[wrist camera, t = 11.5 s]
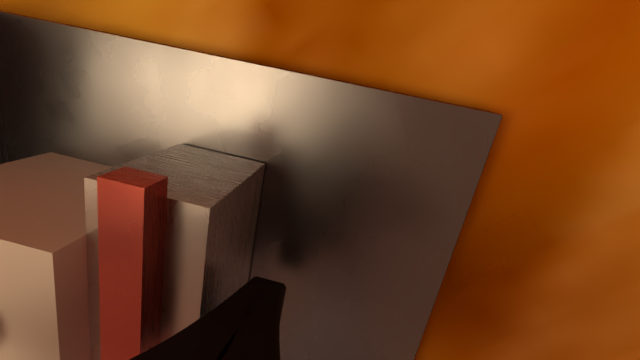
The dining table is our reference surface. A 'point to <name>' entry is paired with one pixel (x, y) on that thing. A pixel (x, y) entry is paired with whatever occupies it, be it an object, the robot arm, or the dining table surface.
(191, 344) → the robot arm
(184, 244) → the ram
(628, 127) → the dining table surface
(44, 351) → the block
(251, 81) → the press
